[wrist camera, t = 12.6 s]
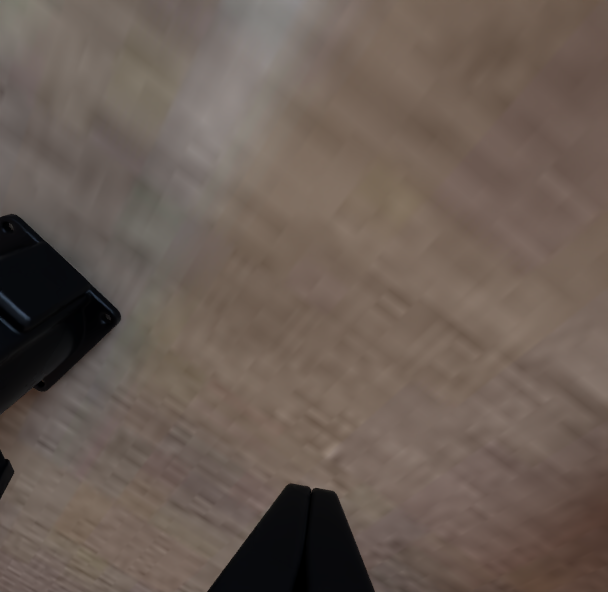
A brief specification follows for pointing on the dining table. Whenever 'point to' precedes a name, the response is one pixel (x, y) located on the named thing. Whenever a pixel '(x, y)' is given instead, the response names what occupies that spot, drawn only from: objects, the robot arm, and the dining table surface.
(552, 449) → the dining table surface
